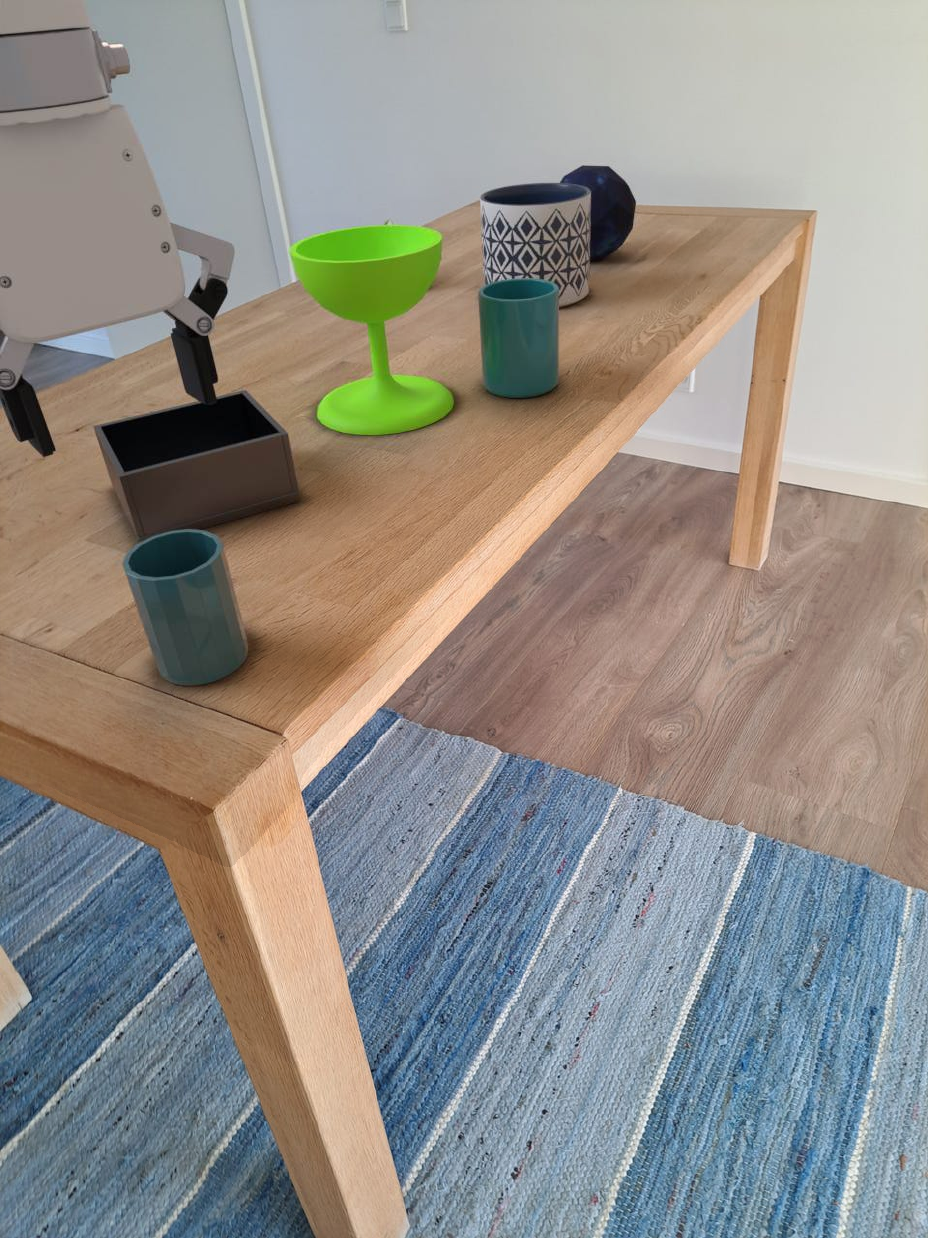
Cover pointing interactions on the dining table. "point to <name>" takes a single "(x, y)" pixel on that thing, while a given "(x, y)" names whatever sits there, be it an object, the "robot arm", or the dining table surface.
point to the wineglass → (374, 319)
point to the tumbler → (187, 605)
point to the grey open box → (198, 464)
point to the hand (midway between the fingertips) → (125, 422)
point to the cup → (519, 336)
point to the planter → (538, 236)
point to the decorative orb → (605, 208)
